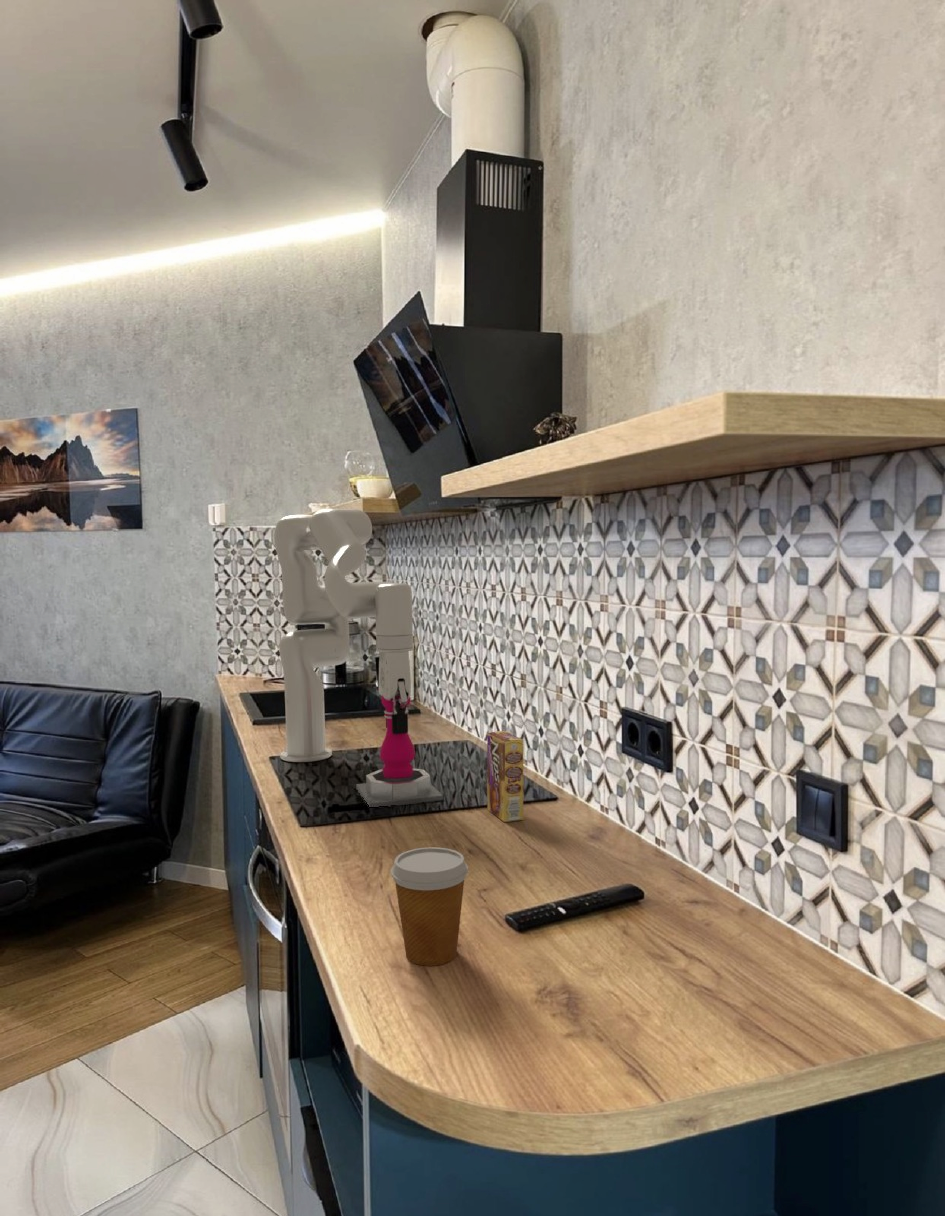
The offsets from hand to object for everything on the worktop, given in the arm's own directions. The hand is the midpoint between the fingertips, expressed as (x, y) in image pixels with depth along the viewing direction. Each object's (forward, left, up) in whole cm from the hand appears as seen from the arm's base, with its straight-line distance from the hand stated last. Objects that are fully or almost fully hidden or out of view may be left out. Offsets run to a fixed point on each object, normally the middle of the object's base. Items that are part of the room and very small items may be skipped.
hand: (396, 729), depth 173 cm
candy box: (+21, +16, -14) cm, 30 cm away
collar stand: (0, 0, -14) cm, 14 cm away
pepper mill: (0, 0, -10) cm, 10 cm away
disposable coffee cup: (+70, -12, -14) cm, 72 cm away
